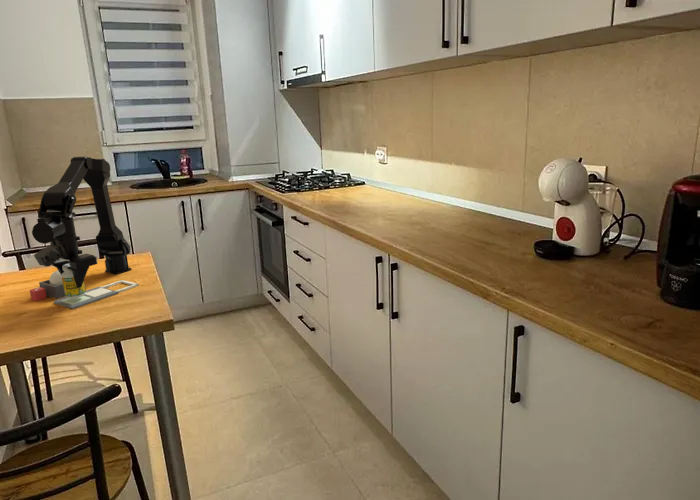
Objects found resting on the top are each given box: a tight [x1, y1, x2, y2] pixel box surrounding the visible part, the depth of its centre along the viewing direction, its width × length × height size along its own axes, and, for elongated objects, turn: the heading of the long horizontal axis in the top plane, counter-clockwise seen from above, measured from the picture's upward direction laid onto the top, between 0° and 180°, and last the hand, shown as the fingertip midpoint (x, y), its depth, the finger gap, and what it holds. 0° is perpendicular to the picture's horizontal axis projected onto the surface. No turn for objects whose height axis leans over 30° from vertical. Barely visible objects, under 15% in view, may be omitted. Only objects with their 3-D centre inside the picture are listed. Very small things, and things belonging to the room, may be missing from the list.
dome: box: [48, 269, 63, 286], centre depth 159 cm, size 7×7×6 cm
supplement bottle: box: [61, 264, 86, 299], centre depth 150 cm, size 5×5×10 cm
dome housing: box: [29, 279, 87, 302], centre depth 158 cm, size 13×9×4 cm
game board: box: [53, 279, 140, 310], centre depth 157 cm, size 22×10×1 cm, turn 148°
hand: (73, 285), depth 150 cm, fingers closed on supplement bottle, 5 cm apart
